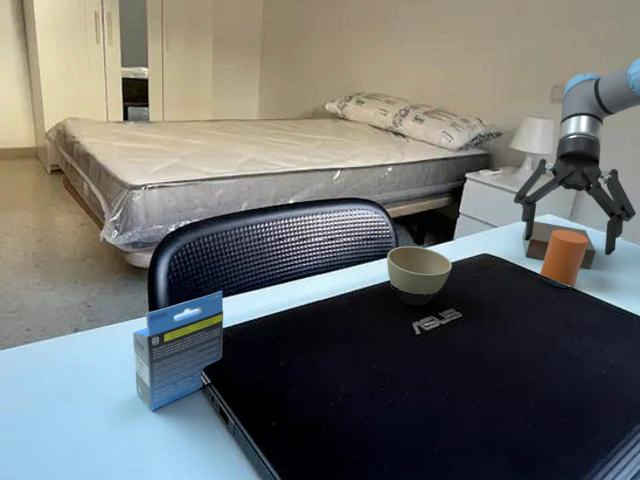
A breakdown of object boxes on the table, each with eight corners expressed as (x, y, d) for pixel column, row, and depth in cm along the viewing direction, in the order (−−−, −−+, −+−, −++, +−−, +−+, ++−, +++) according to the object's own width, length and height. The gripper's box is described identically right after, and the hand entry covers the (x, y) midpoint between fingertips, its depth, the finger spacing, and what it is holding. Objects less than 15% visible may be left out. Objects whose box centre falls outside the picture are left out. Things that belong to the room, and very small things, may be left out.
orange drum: (571, 277, 94) (585, 233, 90) (576, 291, 88) (591, 245, 85) (537, 270, 95) (550, 227, 92) (540, 284, 90) (553, 238, 86)
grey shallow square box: (580, 247, 109) (585, 230, 107) (589, 269, 98) (595, 250, 96) (522, 236, 112) (526, 219, 110) (525, 256, 101) (530, 238, 99)
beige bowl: (369, 296, 81) (374, 256, 78) (404, 278, 87) (410, 241, 85) (421, 323, 74) (430, 280, 72) (454, 301, 81) (463, 262, 79)
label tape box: (205, 364, 61) (204, 275, 57) (223, 381, 59) (224, 290, 54) (135, 393, 56) (128, 297, 51) (152, 414, 53) (146, 315, 48)
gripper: (641, 166, 97) (636, 266, 90) (508, 148, 103) (492, 239, 96) (659, 144, 90) (655, 250, 83) (515, 126, 96) (499, 223, 89)
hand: (568, 245), depth 89 cm, fingers open, 13 cm apart
